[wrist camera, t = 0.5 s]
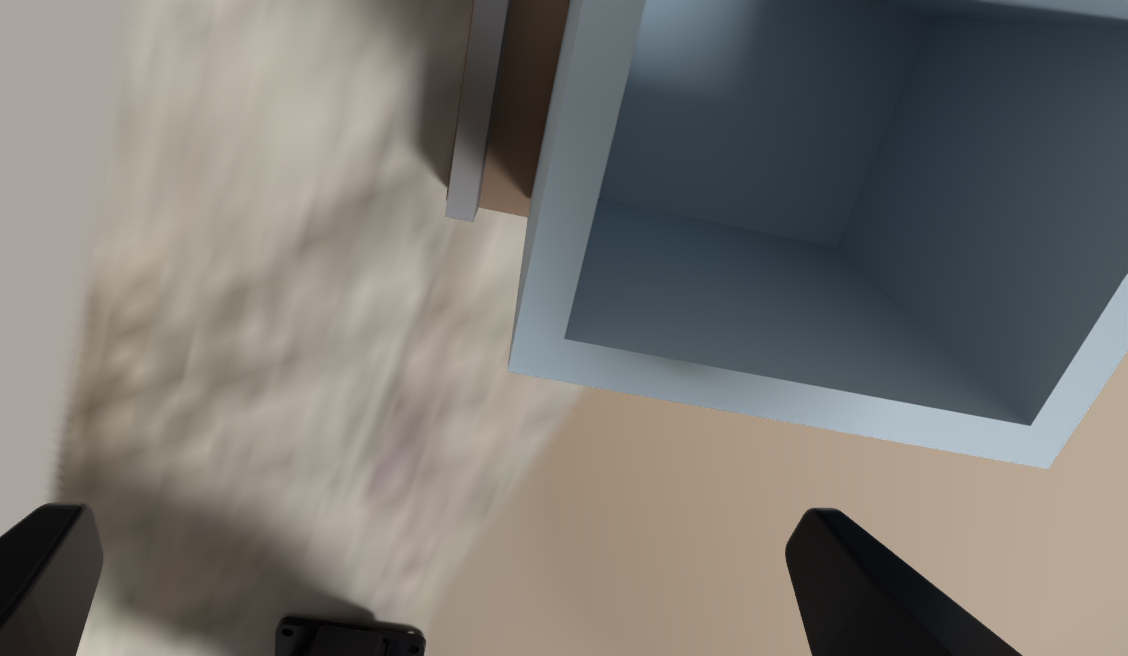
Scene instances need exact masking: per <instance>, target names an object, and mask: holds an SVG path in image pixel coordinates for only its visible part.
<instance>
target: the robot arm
mask: <svg viewBox="0 0 1128 656" xmlns="http://www.w3.org/2000/svg"><path fill="white" fill-rule="evenodd" d="M785 557H786V563H787V567H788V570H789V574H790V577H791V581H792V585H793V588H794V592H795V596H796V599H797V603H798V606H799V610H800V614H801V617H802V621H803V625H804V628H805V632H806V635H807V639H808V643H809V646H810V650H811V653H812V656H1022V655H1021V654H1020V653H1019V652H1017V651H1016V650H1015V649H1014V648H1012V647H1011V646H1010V645H1008V644H1007V643H1006V642H1004V641H1003V640H1002V639H1001V638H1000V637H998V636H997V635H996V634H995V633H993V632H992V631H991V630H990V629H988V628H987V627H986V626H985V625H983V624H982V623H981V622H979V621H978V620H977V619H976V618H975V617H973V616H972V615H971V614H970V613H968V612H967V611H966V610H964V609H963V608H962V607H961V606H959V605H958V604H957V603H956V602H955V601H953V600H952V599H951V598H949V597H948V596H947V595H946V594H944V593H943V592H942V591H941V590H939V589H938V588H937V587H936V586H934V585H933V584H932V583H930V582H929V581H928V580H927V579H925V578H924V577H923V576H922V575H921V574H919V573H918V572H917V571H916V570H914V569H913V568H912V567H911V566H909V565H908V564H907V563H905V562H904V561H903V560H902V559H900V558H899V557H898V556H897V555H895V554H894V553H893V552H892V551H890V550H889V549H888V548H887V547H885V546H884V545H883V544H882V543H880V542H879V541H878V540H877V539H875V538H874V537H873V536H871V535H870V534H869V533H868V532H867V531H865V530H864V529H863V528H861V527H860V526H859V525H858V524H856V523H855V522H854V521H853V520H851V519H850V518H849V517H848V516H846V515H845V514H844V513H842V512H841V511H839V510H837V509H834V508H811V509H809V510H807V511H806V512H805V514H804V515H803V516H802V518H801V520H800V522H799V523H798V525H797V527H796V528H795V530H794V532H793V533H792V535H791V537H790V539H789V541H788V542H787V545H786V549H785ZM102 565H103V547H102V543H101V539H100V536H99V532H98V528H97V524H96V520H95V516H94V512H93V510H92V508H91V507H90V506H89V505H88V504H86V503H47V504H44V505H42V506H40V507H39V508H37V509H36V510H34V511H33V512H32V513H30V514H29V515H28V516H26V518H24V519H23V520H21V521H20V522H19V523H18V524H16V525H15V526H14V527H12V528H11V529H10V530H9V531H7V532H6V533H5V534H3V535H2V536H1V537H0V656H76V653H77V650H78V646H79V643H80V640H81V637H82V633H83V630H84V627H85V623H86V620H87V617H88V614H89V610H90V607H91V604H92V600H93V597H94V594H95V590H96V587H97V584H98V581H99V577H100V574H101V570H102ZM425 647H426V640H425V639H424V637H422V636H421V635H417V634H411V633H403V632H396V631H389V630H382V629H374V628H367V627H360V626H353V625H345V624H338V623H331V622H324V621H316V620H309V619H302V618H295V617H285V618H283V619H281V620H280V622H279V624H278V627H277V629H276V644H275V656H424V652H425Z"/></svg>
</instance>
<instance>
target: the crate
mask: <svg viewBox="0 0 1128 656" xmlns="http://www.w3.org/2000/svg"><path fill="white" fill-rule="evenodd" d="M1127 350H1128V0H570V1H569V6H568V11H567V17H566V22H565V27H564V32H563V37H562V42H561V47H560V52H559V57H558V62H557V67H556V73H555V78H554V83H553V88H552V93H551V98H550V103H549V108H548V113H547V118H546V124H545V129H544V134H543V139H542V144H541V149H540V154H539V159H538V164H537V169H536V174H535V180H534V185H533V190H532V195H531V200H530V206H529V213H528V221H527V228H526V236H525V243H524V251H523V258H522V266H521V273H520V281H519V288H518V296H517V303H516V310H515V318H514V325H513V333H512V340H511V348H510V355H509V363H508V370H507V372H512V373H517V374H523V375H528V376H534V377H539V378H545V379H550V380H556V381H562V382H567V383H573V384H578V385H584V386H589V387H595V388H600V389H607V390H612V391H617V392H623V393H628V394H634V395H639V396H645V397H650V398H656V399H662V400H667V401H673V402H678V403H684V404H690V405H695V406H701V407H706V408H711V409H717V410H723V411H728V412H734V413H739V414H745V415H750V416H756V417H762V418H767V419H773V420H778V421H784V422H789V423H795V424H800V425H806V426H811V427H817V428H823V429H828V430H834V431H839V432H845V433H850V434H856V435H861V436H867V437H873V438H878V439H884V440H890V441H895V442H901V443H906V444H911V445H917V446H923V447H928V448H934V449H940V450H945V451H950V452H956V453H961V454H967V455H973V456H978V457H984V458H989V459H995V460H1000V461H1006V462H1011V463H1017V464H1022V465H1028V466H1034V467H1040V468H1045V469H1048V468H1049V466H1050V465H1051V463H1052V462H1053V460H1054V459H1055V458H1056V456H1057V454H1058V453H1059V452H1060V450H1061V449H1062V447H1063V446H1064V444H1065V443H1066V441H1067V440H1068V438H1069V437H1070V435H1071V434H1072V432H1073V431H1074V429H1075V428H1076V426H1077V425H1078V423H1079V422H1080V420H1081V419H1082V417H1083V416H1084V414H1085V413H1086V411H1087V410H1088V408H1089V407H1090V405H1091V404H1092V402H1093V401H1094V399H1095V398H1096V397H1097V395H1098V394H1099V392H1100V390H1101V389H1102V388H1103V386H1104V385H1105V383H1106V382H1107V380H1108V378H1109V377H1110V376H1111V374H1112V373H1113V371H1114V370H1115V368H1116V367H1117V365H1118V364H1119V362H1120V361H1121V359H1122V358H1123V356H1124V355H1125V353H1126V352H1127Z"/></svg>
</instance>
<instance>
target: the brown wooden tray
mask: <svg viewBox="0 0 1128 656" xmlns="http://www.w3.org/2000/svg"><path fill="white" fill-rule="evenodd" d="M569 1H570V0H474V2H473V9H472V16H471V23H470V31H469V38H468V45H467V52H466V59H465V67H464V74H463V81H462V88H461V95H460V103H459V110H458V117H457V124H456V132H455V139H454V146H453V153H452V160H451V168H450V175H449V182H448V189H447V196H446V201H447V206H446V213H445V217H449V218H454V219H459V220H464V221H469V222H473V221H474V218H475V216H476V213H477V210H478V208H479V207H480V208H485V209H490V210H495V211H500V212H504V213H509V214H514V215H519V216H524V217H528V213H529V206H530V200H531V195H532V190H533V185H534V180H535V174H536V169H537V164H538V159H539V154H540V149H541V144H542V139H543V134H544V129H545V124H546V118H547V113H548V108H549V103H550V98H551V93H552V88H553V83H554V78H555V73H556V67H557V62H558V57H559V52H560V47H561V42H562V37H563V32H564V27H565V22H566V17H567V11H568V6H569Z"/></svg>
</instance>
